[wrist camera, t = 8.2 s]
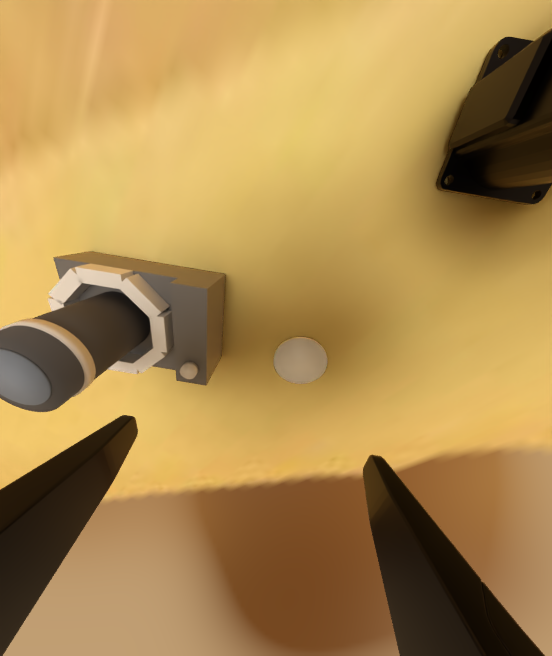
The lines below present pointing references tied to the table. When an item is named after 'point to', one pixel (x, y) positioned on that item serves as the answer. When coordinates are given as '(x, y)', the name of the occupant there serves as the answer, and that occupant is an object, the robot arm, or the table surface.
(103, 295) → the lens
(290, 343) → the pale white disc
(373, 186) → the table surface
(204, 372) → the camera body
